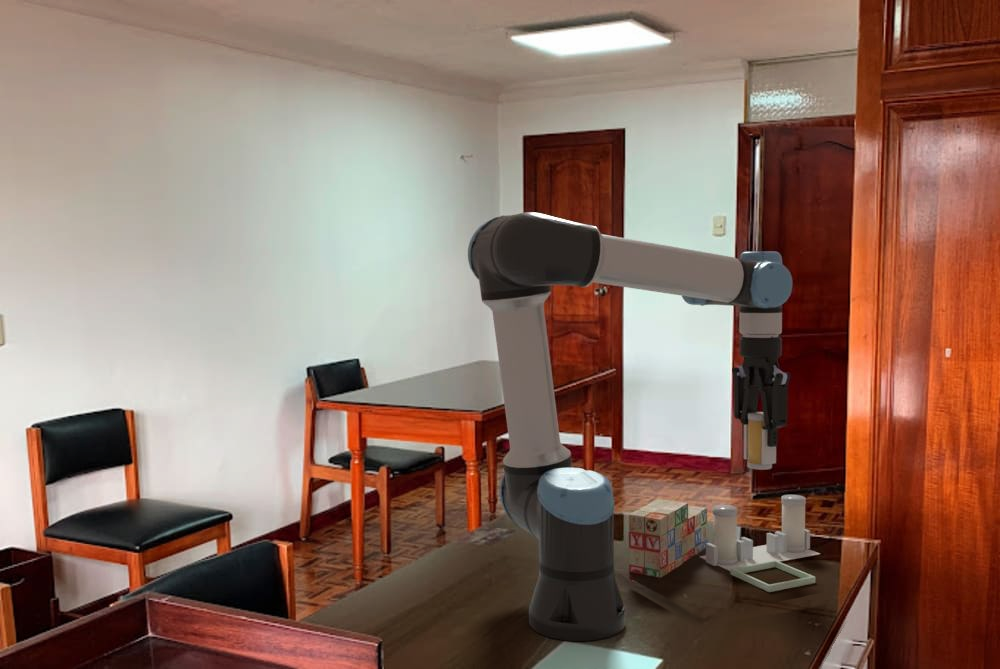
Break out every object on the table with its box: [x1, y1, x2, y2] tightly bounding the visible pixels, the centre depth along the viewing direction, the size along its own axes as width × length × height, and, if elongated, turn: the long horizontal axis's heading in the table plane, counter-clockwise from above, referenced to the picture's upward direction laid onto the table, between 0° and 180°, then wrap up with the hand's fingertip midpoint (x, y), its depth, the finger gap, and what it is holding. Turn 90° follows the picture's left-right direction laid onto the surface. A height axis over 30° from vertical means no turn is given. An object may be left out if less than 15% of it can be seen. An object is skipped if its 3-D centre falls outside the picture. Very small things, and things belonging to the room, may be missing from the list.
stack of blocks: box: [628, 498, 709, 582], centre depth 170 cm, size 21×6×12 cm, turn 145°
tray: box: [729, 560, 816, 593], centre depth 159 cm, size 10×10×2 cm
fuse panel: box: [698, 528, 820, 572], centre depth 171 cm, size 22×9×5 cm, turn 114°
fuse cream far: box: [780, 494, 807, 553], centre depth 174 cm, size 4×4×10 cm
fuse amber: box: [746, 411, 773, 471], centre depth 170 cm, size 4×4×10 cm
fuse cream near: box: [711, 504, 738, 565], centre depth 168 cm, size 4×4×10 cm
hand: (759, 460), depth 170 cm, fingers closed on fuse amber, 4 cm apart
